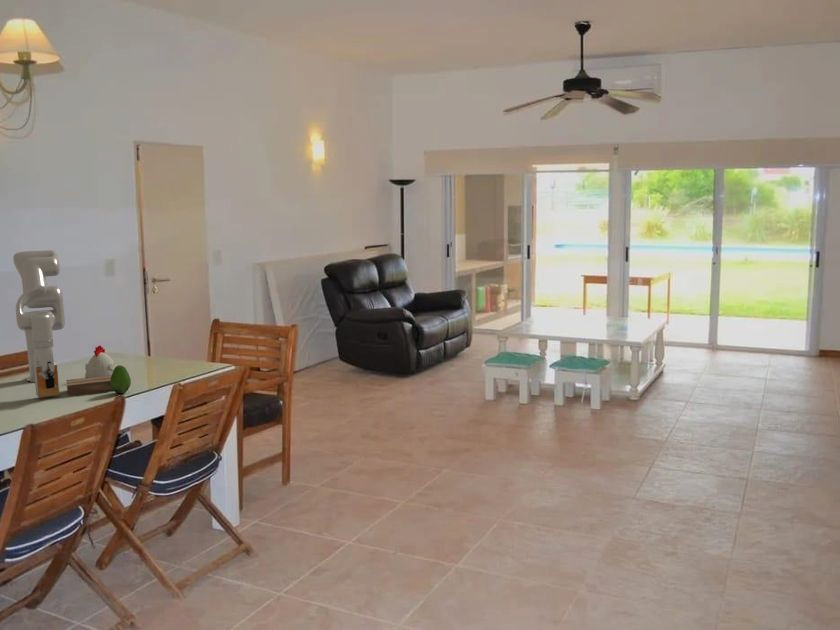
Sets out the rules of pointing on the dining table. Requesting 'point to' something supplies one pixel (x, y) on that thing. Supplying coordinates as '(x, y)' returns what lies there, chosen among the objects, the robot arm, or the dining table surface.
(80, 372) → the dining table surface
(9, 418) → the dining table surface
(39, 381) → the small box
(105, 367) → the white chicken figurine
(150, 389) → the dining table surface
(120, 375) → the fruit
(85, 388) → the walnut riser block
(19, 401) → the dining table surface
